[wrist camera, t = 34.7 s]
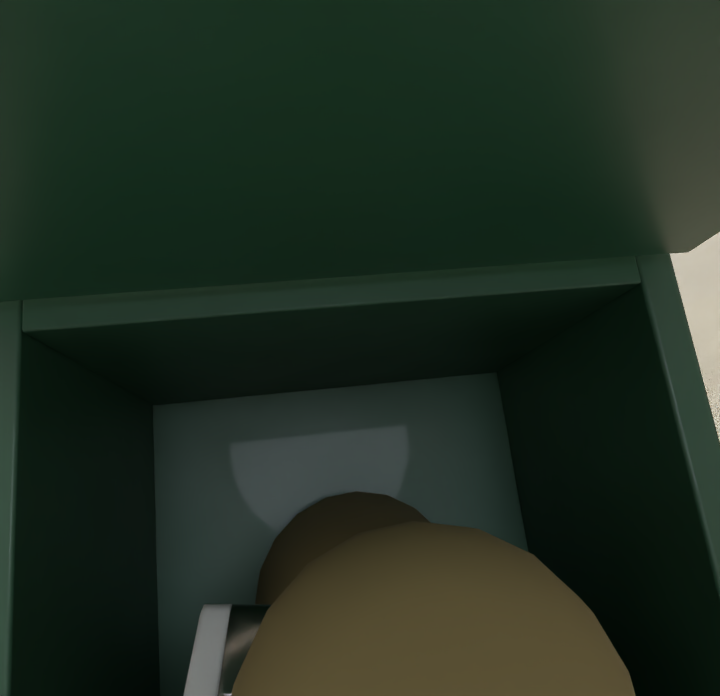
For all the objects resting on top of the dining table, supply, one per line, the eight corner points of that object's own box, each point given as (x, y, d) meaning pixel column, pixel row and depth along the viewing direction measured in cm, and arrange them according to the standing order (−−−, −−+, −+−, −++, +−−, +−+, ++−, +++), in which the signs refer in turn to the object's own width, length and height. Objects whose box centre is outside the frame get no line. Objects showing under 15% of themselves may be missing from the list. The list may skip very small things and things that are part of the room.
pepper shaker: (254, 727, 15) (133, 1296, 4) (255, 496, 16) (165, 502, 6) (471, 707, 16) (825, 1162, 5) (453, 486, 17) (696, 478, 7)
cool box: (586, 797, 18) (910, 1151, 8) (143, 885, 16) (-87, 1456, 7) (505, 354, 21) (668, 244, 12) (134, 388, 19) (-26, 293, 10)
